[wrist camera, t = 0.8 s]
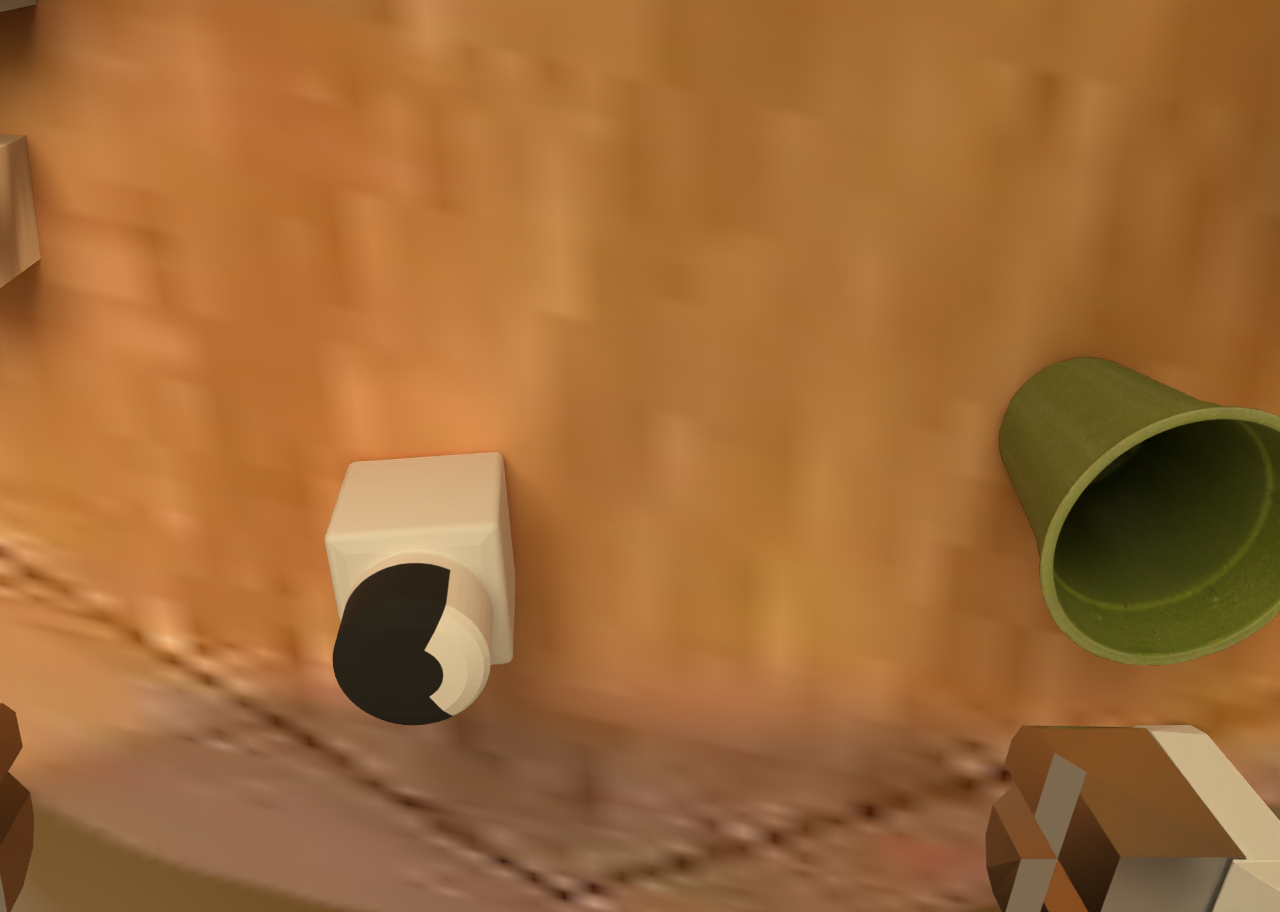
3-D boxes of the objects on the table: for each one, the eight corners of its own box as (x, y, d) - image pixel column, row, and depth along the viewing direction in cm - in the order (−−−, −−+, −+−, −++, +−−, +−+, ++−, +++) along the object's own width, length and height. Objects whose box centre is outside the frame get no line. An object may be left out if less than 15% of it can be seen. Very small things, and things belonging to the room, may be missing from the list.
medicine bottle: (369, 590, 56) (330, 755, 45) (347, 459, 53) (299, 603, 42) (516, 579, 56) (512, 740, 45) (502, 448, 53) (495, 588, 42)
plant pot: (899, 465, 55) (981, 592, 45) (1062, 262, 51) (1192, 351, 41) (1075, 571, 59) (1187, 710, 49) (1240, 388, 55) (1400, 498, 45)
